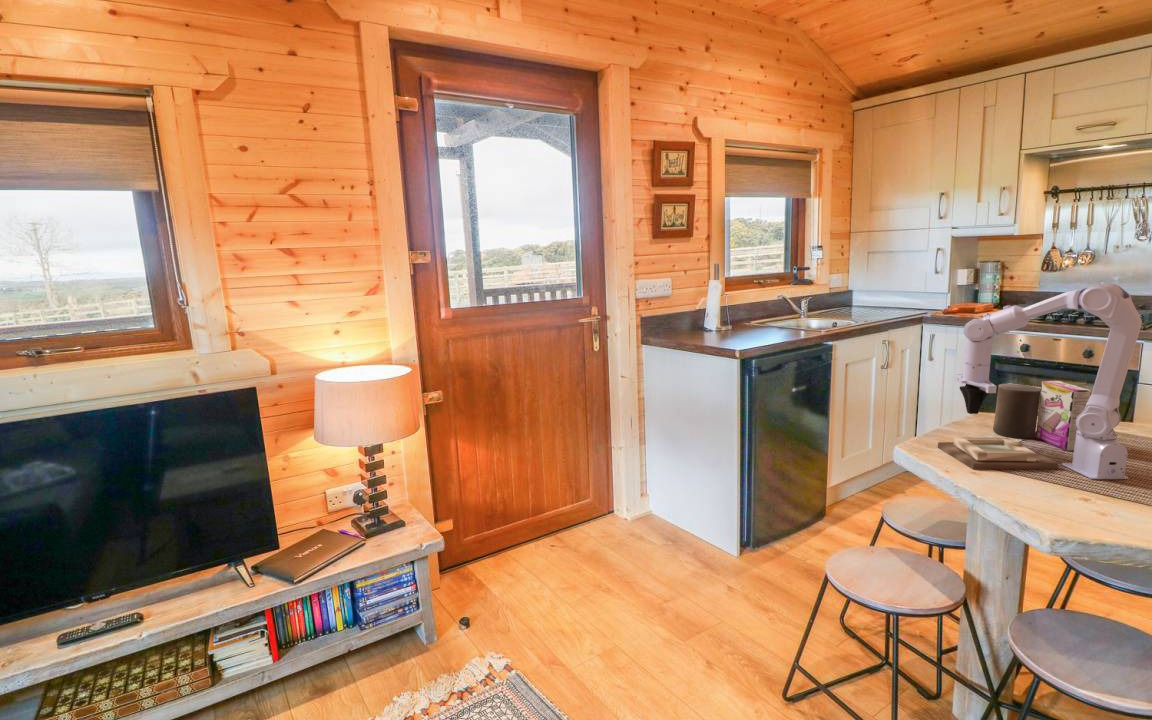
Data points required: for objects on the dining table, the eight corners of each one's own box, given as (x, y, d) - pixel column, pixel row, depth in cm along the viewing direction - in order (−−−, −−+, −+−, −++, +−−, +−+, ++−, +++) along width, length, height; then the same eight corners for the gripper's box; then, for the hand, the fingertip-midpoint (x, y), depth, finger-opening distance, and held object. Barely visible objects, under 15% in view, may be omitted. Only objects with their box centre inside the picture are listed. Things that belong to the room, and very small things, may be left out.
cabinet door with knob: (1035, 461, 141) (1036, 451, 141) (977, 460, 143) (978, 450, 143) (1006, 445, 153) (1007, 435, 152) (953, 444, 155) (954, 435, 154)
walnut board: (1057, 468, 141) (1058, 462, 140) (972, 469, 142) (973, 463, 142) (1013, 447, 156) (1014, 441, 156) (937, 447, 158) (938, 441, 158)
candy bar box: (1033, 438, 163) (1040, 380, 160) (1052, 437, 163) (1059, 380, 160) (1065, 451, 152) (1073, 390, 149) (1085, 451, 152) (1093, 389, 149)
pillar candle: (1016, 440, 162) (1023, 387, 159) (984, 430, 171) (990, 380, 168) (1044, 437, 164) (1051, 385, 161) (1011, 427, 173) (1017, 377, 170)
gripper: (946, 358, 162) (942, 406, 164) (977, 369, 148) (973, 421, 150) (972, 358, 161) (968, 406, 164) (1007, 368, 147) (1001, 420, 150)
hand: (972, 413), depth 157 cm, fingers closed
